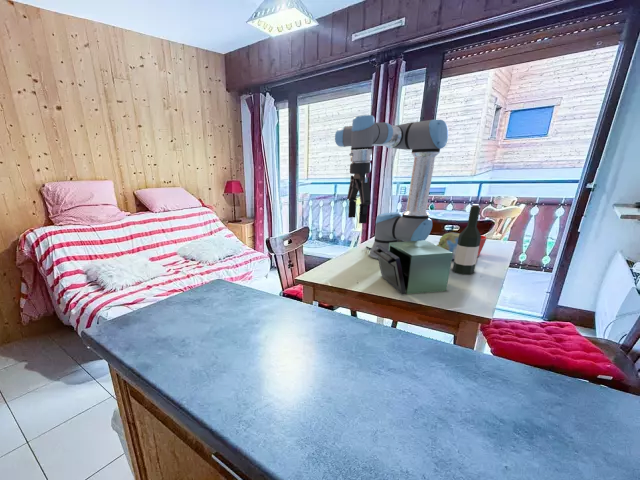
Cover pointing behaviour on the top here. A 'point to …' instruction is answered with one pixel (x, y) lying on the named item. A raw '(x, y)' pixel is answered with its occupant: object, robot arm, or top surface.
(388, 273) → the oven door
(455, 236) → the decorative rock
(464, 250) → the wine bottle
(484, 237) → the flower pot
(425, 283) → the oven
